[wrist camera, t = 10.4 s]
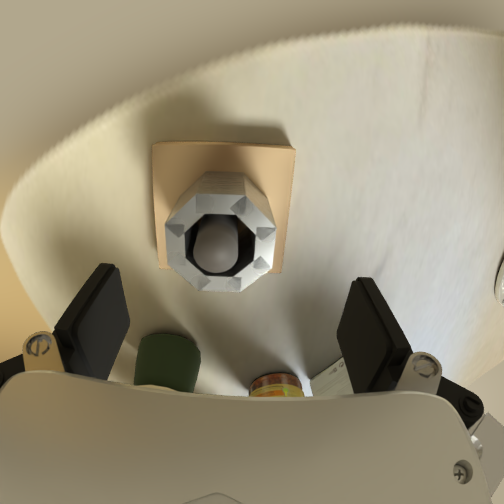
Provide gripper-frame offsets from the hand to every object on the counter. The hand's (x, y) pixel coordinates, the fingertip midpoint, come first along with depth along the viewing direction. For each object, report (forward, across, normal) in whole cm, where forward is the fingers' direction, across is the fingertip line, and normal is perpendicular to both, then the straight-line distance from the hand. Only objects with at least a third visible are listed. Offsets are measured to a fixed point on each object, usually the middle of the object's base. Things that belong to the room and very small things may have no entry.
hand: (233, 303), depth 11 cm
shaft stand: (+11, +1, 0) cm, 11 cm away
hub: (+9, +1, 0) cm, 9 cm away
